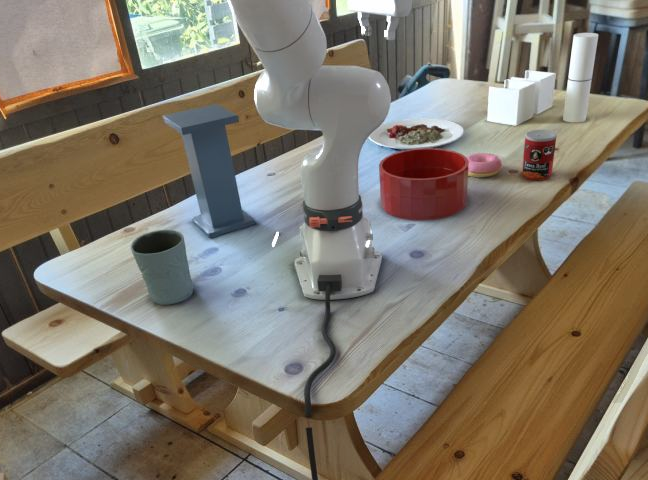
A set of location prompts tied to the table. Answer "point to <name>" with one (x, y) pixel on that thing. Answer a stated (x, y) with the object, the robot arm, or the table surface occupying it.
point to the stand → (211, 168)
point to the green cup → (163, 265)
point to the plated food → (416, 133)
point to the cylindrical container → (580, 76)
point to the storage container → (521, 98)
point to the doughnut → (483, 165)
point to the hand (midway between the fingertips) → (377, 37)
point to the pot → (424, 183)
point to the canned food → (538, 154)
